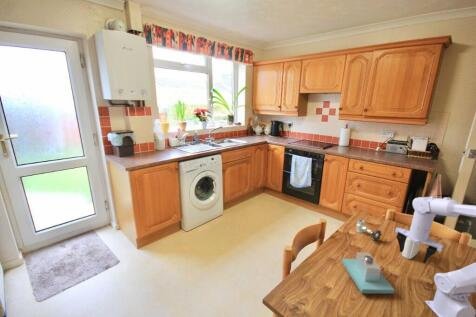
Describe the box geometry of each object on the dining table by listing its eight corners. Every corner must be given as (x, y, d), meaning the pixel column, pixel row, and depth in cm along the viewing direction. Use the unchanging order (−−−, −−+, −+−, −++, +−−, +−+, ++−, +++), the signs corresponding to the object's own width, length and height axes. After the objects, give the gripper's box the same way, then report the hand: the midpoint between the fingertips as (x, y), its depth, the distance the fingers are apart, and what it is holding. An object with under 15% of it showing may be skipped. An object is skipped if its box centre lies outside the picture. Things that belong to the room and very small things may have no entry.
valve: (352, 230, 122) (372, 243, 112) (353, 220, 121) (374, 231, 110) (360, 228, 125) (380, 240, 114) (362, 217, 123) (382, 229, 113)
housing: (367, 265, 92) (369, 251, 91) (378, 282, 84) (381, 266, 82) (354, 264, 93) (357, 250, 91) (364, 281, 84) (367, 265, 82)
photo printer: (408, 247, 109) (414, 225, 105) (419, 252, 105) (425, 230, 102) (399, 255, 103) (405, 232, 100) (410, 260, 100) (416, 237, 96)
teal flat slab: (393, 296, 81) (394, 289, 80) (360, 295, 81) (361, 289, 80) (368, 265, 97) (369, 259, 96) (341, 264, 97) (342, 258, 96)
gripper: (395, 221, 87) (388, 250, 90) (443, 239, 76) (433, 272, 79) (401, 216, 91) (394, 244, 95) (448, 232, 80) (438, 263, 83)
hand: (412, 256), depth 87 cm, fingers open, 7 cm apart
